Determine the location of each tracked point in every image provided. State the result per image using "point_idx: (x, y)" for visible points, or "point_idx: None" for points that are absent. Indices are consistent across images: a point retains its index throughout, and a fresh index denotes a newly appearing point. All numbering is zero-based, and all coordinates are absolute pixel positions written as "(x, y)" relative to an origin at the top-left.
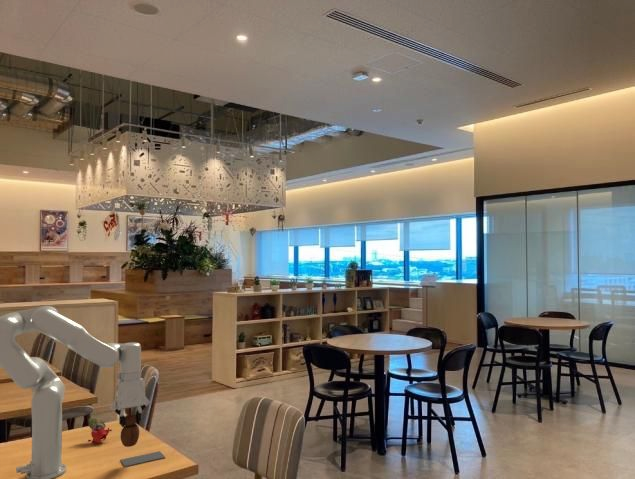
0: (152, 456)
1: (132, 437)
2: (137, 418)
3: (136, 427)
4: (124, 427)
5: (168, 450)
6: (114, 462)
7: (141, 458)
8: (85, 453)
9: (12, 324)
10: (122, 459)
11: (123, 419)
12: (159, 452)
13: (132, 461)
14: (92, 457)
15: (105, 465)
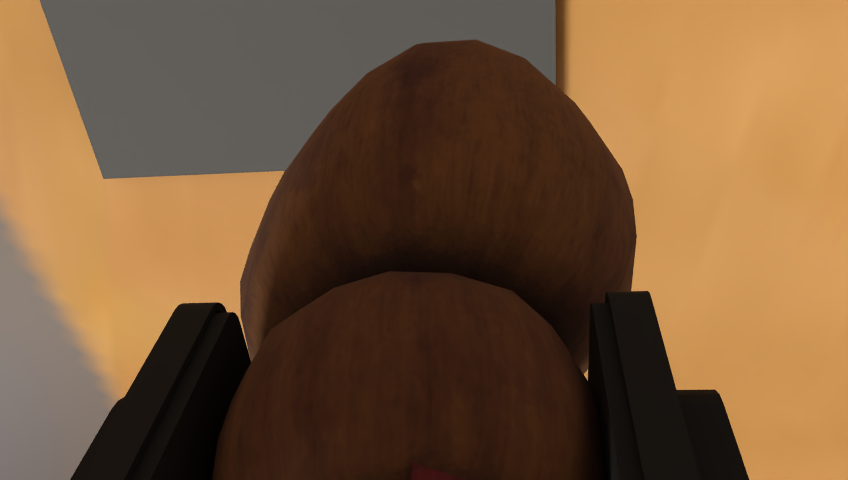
0: (186, 63)
1: (417, 59)
2: (184, 428)
3: (283, 252)
4: (575, 315)
5: (16, 174)
6: (625, 138)
7: (318, 69)
8: (800, 477)
9: None
10: None
11: (668, 455)
12: (106, 144)
13: (434, 28)
14: (781, 370)
15: (743, 103)
